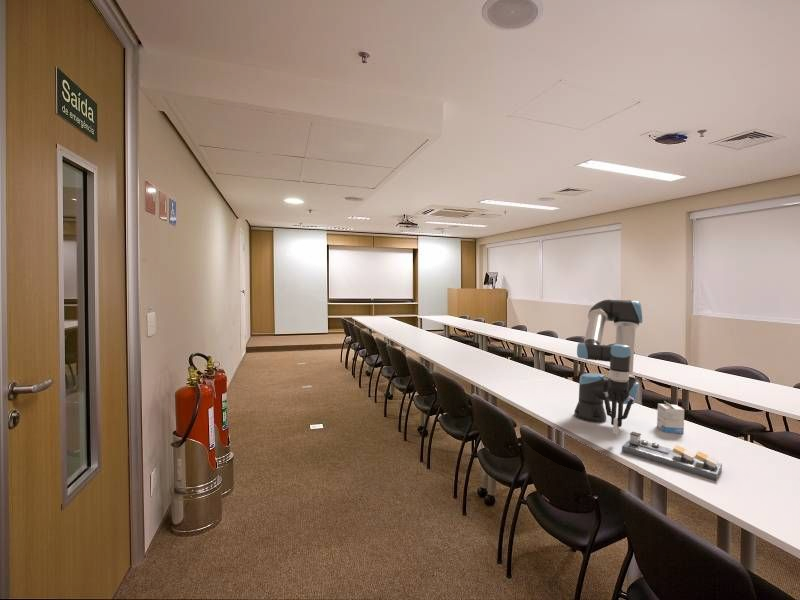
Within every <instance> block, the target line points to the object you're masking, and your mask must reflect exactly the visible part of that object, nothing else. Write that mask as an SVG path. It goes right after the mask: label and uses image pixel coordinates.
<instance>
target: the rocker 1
mask: <svg viewBox="0 0 800 600" xmlns="http://www.w3.org/2000/svg"><path fill="white" fill-rule="evenodd" d="M672 449H673V452H675V453H676V454H678V455H680V456H682V457H684V458H686V459H688V460H690V461H692V460H693V458H694V456H695V455H696V453H694V452H692V451H690V450H688V449H685V448H684V447H682V446H681V445H678V444H676V445H675V446H674V448H672Z"/></svg>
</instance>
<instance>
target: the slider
mask: <svg viewBox="0 0 800 600" xmlns="http://www.w3.org/2000/svg"><path fill="white" fill-rule="evenodd" d="M629 434H630V435H629V437H630V438H629V440H630V443H632V444H636V445H639V444H640V440H641V435H642V433H641V432H635V431H631V432H630V433H629Z"/></svg>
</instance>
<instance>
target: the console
mask: <svg viewBox="0 0 800 600" xmlns="http://www.w3.org/2000/svg"><path fill="white" fill-rule="evenodd" d="M673 449H674V448H669V447H665V446H661V445H660V444H659V443H656V442H652V443H651V442H649V441H648V440H646V439H640V444H639V445H636V444H632V443H630V439H628V440H627V441H626V442H625V443H624V444H623V445H621V453H624V454H628V455H631V456H633V457H637V458H641V459H643V460H645V461H650V462H653V463H657V464H660V465H664V466H667V467H669V468H673V469H677V470H679V471H682V472H685V473H688V474H691V475H696V476H699V477H702V478H704V479H705V478H706V479H708V480H712V481H715V482H717V480H718V478H719V477H720V475H721V473H722V469H723V463H722V462H719V461H718V463H717V465H716V467H715V468H714V467H712V466H710V465H708V464H706V463H704V462H702V461H700V460H698V459H696V458H695V456H694V458H693V460H692V461H690V460H688V459H686V458H684V457H682V456H680V455H678V454H676V453H675V452H673Z"/></svg>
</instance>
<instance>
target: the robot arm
mask: <svg viewBox="0 0 800 600" xmlns="http://www.w3.org/2000/svg"><path fill="white" fill-rule="evenodd" d="M587 319H588V323H587V327H586V331H585V335H584V340H583V342H579V343H577V346H576V347H577V348H576V355H577V356H576V357H578V358H579V359H582V360H583V359H584V360H590V361H599V362H600V361H601V362H607V363H608V362H609V373H608V374H609V377H606V376H605V374H603V373H597V372H589V373H583V374H581V375H580V376H579V383H578V384H579V385H578V401H577V404H576V406H575V409H574V415H573V416H574V417H575V418H576V419H579V420H581V421H584V422H589V423H596V424H597V423H605V422H606V421H607V416H609V417H610V418H611V419H610V424H611V426H613V429H612V431H613V432H612V434H615V435H618V434H619V433H620V428H621V427H622V425H623V420H626V419H627V418H628V416H629V413H630V410H631V408H632V405H634V404H635V403H636V400H637V397H638V396H637V395H638V391H639V386H640V383H639V382H638V381H637V378H636V377H635V375H634V373H633V372H634V361H635V360H634V359H635V358H634V356H635V355H634V354H635V339H636V330H637V329H638V328H639V327H640V324H642V323H643V310H642V304H641V302H640V301H639V300H631V299H629V300H626V299H625V300H623V299H603V300H601V301H599V302H596V303H595V304H593V306H592V307H591V308H590V310H589V311H588V313H587ZM607 322H613V325H614V327H615V329H616V330H615V343H614V344H611V345H606V344H602V341H603V335H604V330H605V329H604V328H605V324H606V323H607ZM610 402H611V403H610ZM624 405H626V406H625V409H624Z"/></svg>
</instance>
